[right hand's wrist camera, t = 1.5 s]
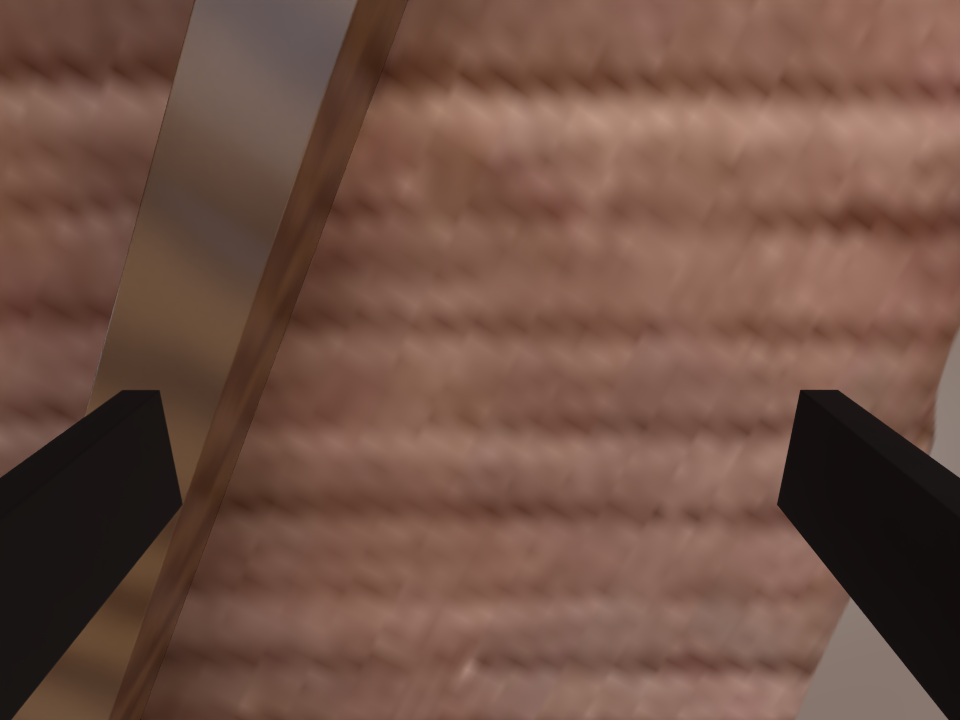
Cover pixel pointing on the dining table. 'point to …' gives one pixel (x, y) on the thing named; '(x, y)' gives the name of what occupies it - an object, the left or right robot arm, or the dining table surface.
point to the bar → (218, 287)
